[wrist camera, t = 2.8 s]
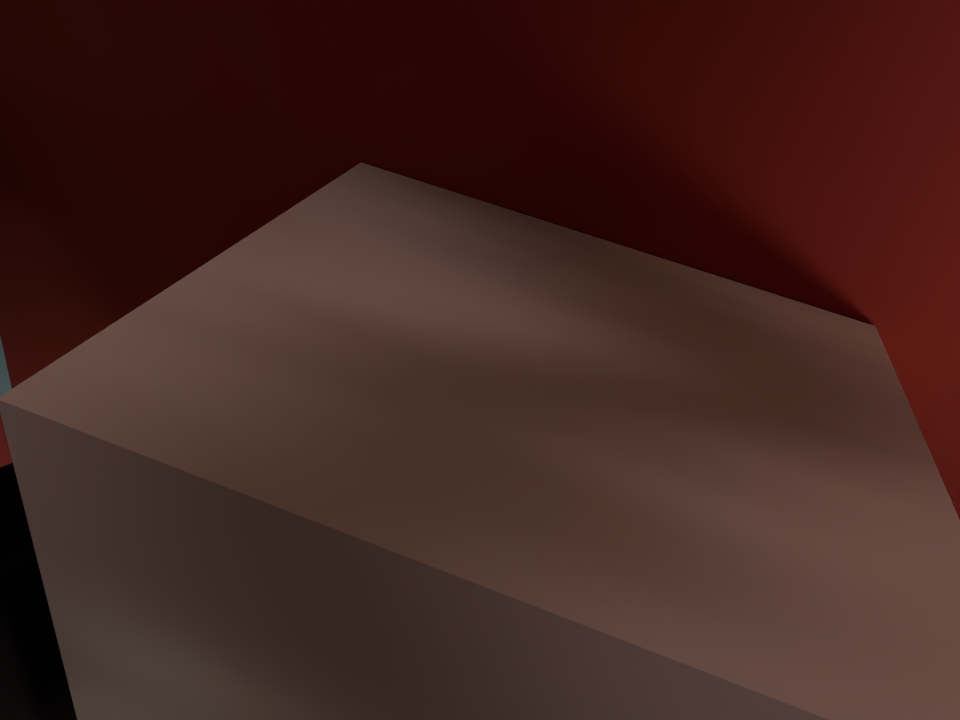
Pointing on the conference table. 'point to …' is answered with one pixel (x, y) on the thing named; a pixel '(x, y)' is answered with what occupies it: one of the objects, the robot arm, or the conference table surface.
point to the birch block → (483, 486)
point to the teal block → (3, 373)
